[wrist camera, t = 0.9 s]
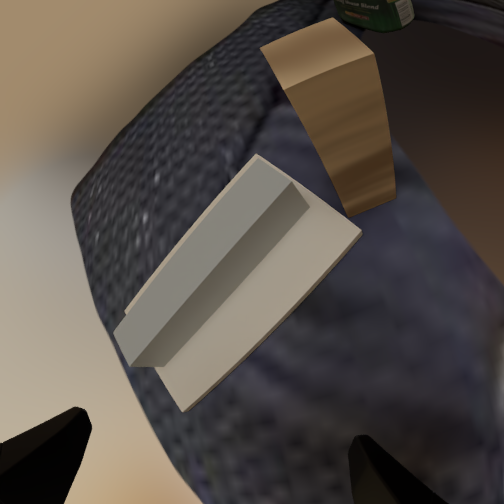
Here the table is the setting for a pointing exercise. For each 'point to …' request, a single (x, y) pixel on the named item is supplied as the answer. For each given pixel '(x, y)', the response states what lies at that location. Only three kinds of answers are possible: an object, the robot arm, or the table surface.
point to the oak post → (339, 109)
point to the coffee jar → (376, 14)
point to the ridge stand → (232, 280)
